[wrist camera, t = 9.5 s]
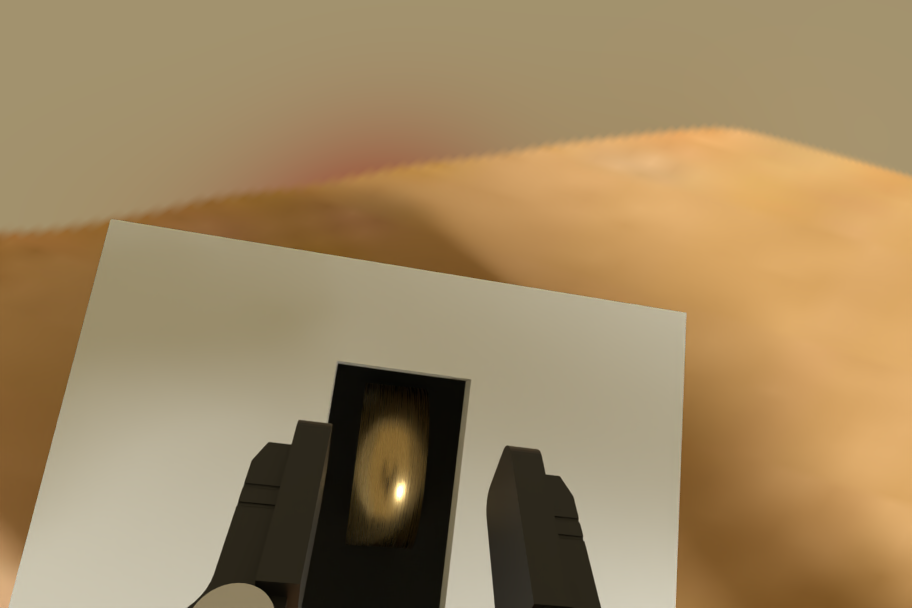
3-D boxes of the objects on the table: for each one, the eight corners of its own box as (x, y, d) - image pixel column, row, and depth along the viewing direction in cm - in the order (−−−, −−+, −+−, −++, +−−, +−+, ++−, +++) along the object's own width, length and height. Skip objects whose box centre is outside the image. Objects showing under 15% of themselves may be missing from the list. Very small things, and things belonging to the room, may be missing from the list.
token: (413, 394, 28) (434, 384, 20) (399, 522, 27) (416, 566, 19) (364, 389, 28) (366, 377, 20) (348, 518, 27) (342, 562, 19)
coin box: (582, 345, 31) (686, 312, 21) (557, 674, 28) (667, 813, 18) (194, 286, 28) (110, 218, 18) (113, 646, 25) (-41, 794, 15)
